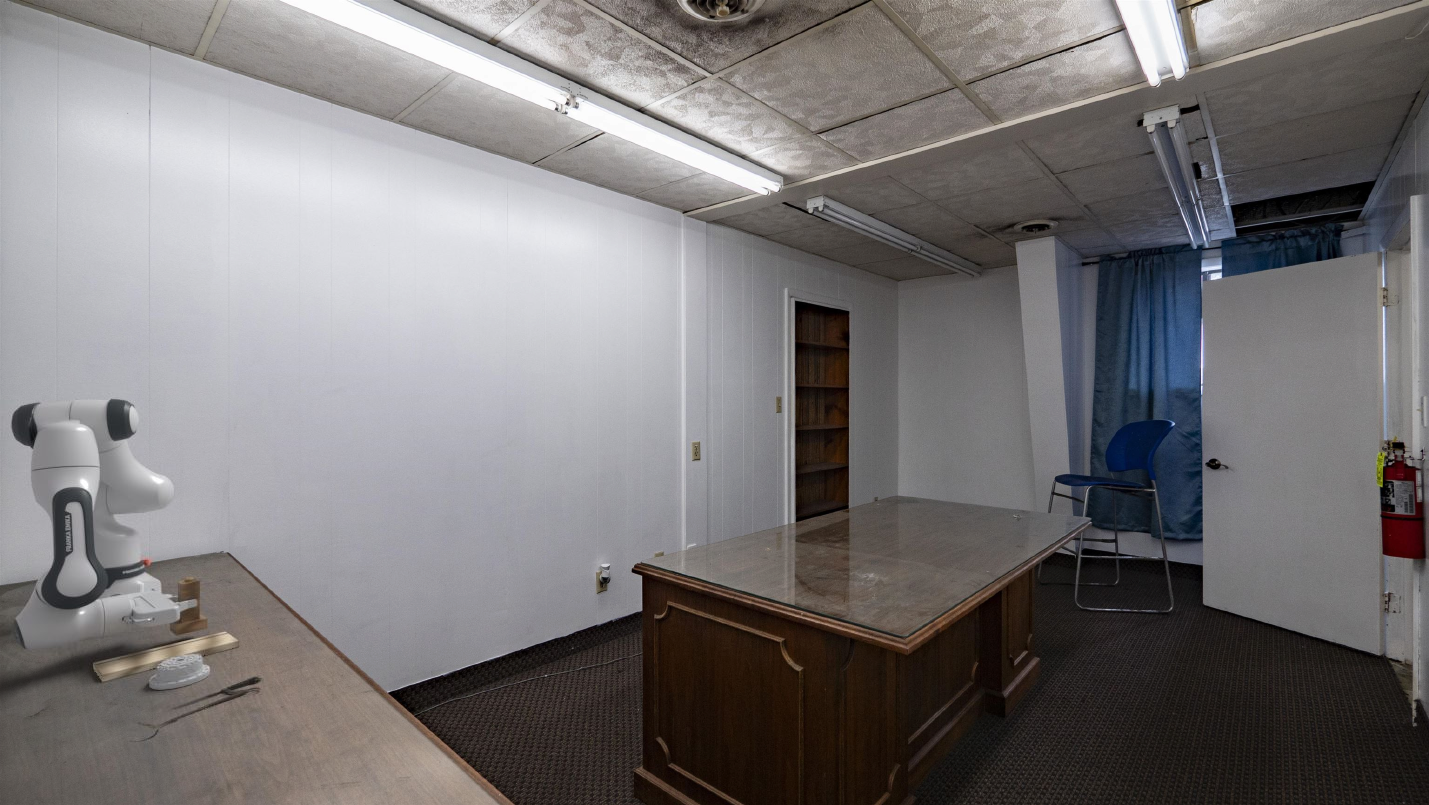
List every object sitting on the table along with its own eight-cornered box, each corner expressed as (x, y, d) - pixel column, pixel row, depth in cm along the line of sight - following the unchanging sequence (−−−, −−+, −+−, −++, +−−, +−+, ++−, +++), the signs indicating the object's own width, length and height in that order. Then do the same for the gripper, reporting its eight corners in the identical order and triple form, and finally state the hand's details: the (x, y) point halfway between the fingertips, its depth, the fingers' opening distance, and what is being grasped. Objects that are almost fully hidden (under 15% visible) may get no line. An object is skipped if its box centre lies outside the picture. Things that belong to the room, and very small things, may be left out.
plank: (102, 681, 133) (102, 674, 133) (93, 669, 139) (93, 662, 139) (238, 646, 152) (238, 640, 152) (225, 637, 158) (225, 631, 158)
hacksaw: (258, 680, 135) (258, 673, 135) (283, 691, 130) (283, 684, 130) (110, 731, 114) (110, 723, 114) (133, 746, 109) (133, 738, 109)
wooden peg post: (176, 635, 152) (176, 583, 152) (169, 629, 156) (170, 578, 156) (207, 628, 157) (207, 577, 157) (200, 623, 160) (200, 573, 160)
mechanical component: (136, 688, 131) (174, 693, 129) (136, 667, 131) (174, 672, 129) (185, 668, 141) (221, 672, 139) (185, 649, 141) (221, 652, 139)
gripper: (128, 610, 140) (206, 595, 151) (109, 593, 152) (182, 580, 163) (128, 639, 140) (205, 621, 151) (108, 619, 152) (181, 604, 163)
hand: (193, 600), depth 157 cm, fingers closed on wooden peg post, 3 cm apart
